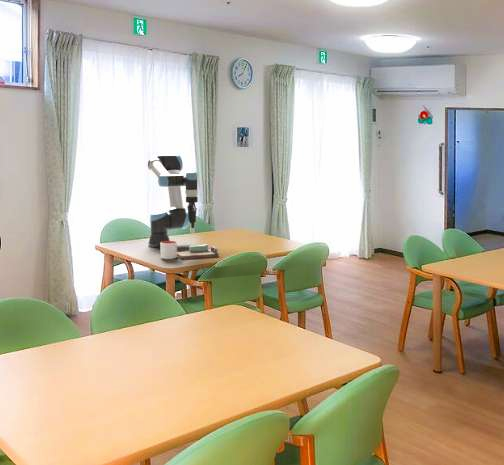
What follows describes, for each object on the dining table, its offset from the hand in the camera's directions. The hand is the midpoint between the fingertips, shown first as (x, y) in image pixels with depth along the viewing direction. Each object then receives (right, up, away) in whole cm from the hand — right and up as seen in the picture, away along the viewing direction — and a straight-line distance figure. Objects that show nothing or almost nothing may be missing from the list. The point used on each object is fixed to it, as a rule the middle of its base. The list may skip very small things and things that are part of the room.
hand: (192, 232), depth 401 cm
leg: (+5, -11, -5) cm, 13 cm away
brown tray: (+4, -15, -10) cm, 18 cm away
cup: (-13, -16, -17) cm, 26 cm away
